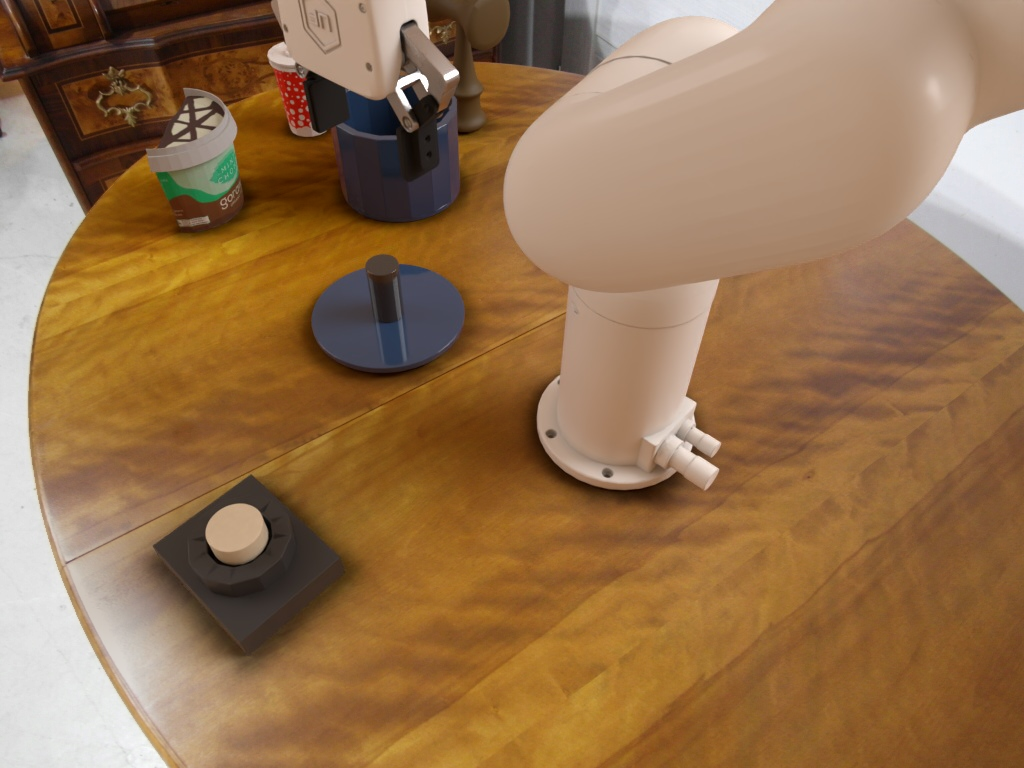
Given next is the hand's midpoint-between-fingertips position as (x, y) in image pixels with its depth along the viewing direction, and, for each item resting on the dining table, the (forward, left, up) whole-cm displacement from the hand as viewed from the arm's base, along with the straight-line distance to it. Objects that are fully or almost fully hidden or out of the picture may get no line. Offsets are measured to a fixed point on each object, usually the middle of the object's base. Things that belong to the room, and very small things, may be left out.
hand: (374, 148), depth 57 cm
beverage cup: (+32, -16, -18) cm, 40 cm away
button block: (-11, +23, -18) cm, 31 cm away
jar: (+15, -15, -18) cm, 28 cm away
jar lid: (+1, 0, -17) cm, 17 cm away
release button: (-11, +23, -14) cm, 29 cm away
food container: (+26, 0, -18) cm, 32 cm away
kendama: (+19, -29, -18) cm, 39 cm away
